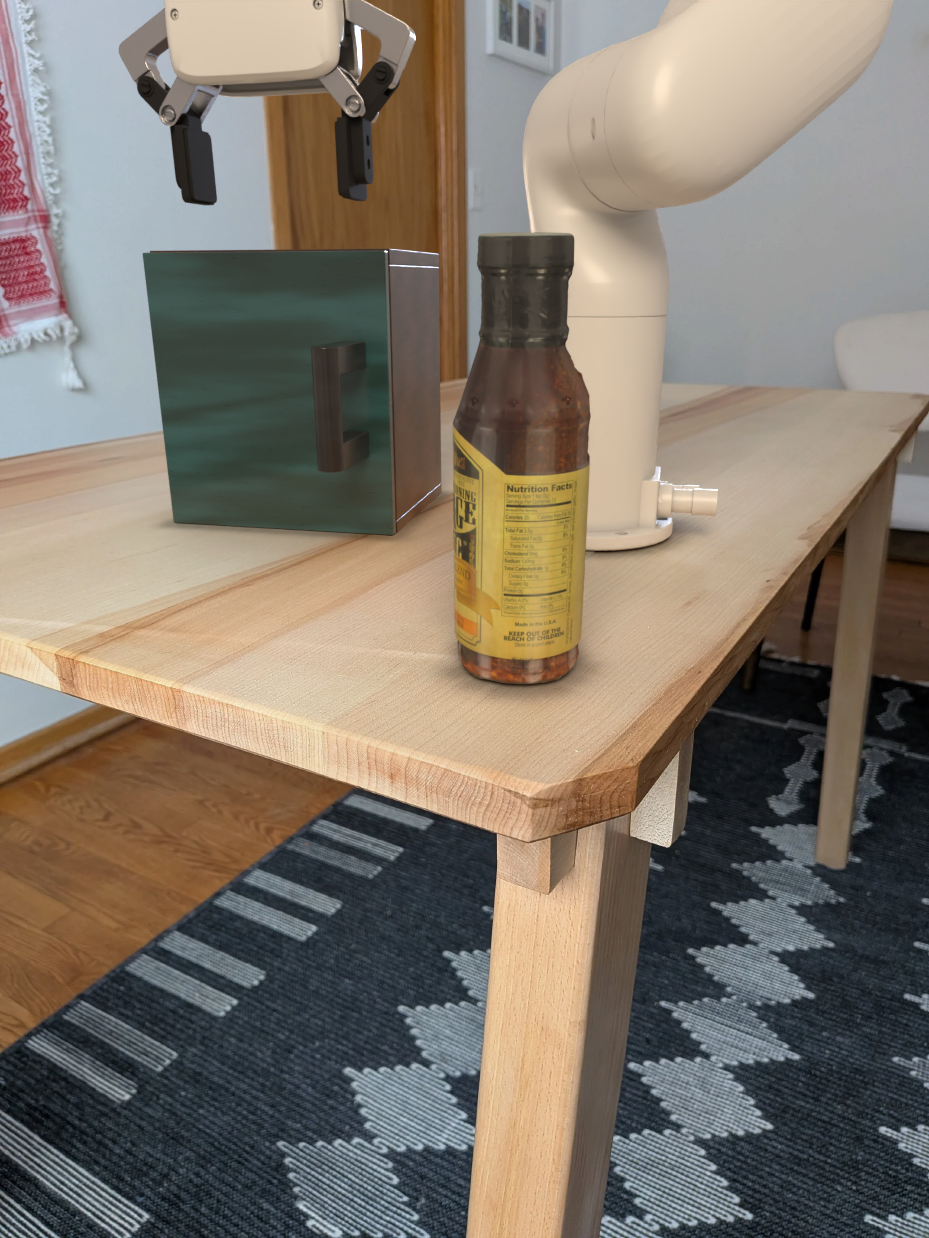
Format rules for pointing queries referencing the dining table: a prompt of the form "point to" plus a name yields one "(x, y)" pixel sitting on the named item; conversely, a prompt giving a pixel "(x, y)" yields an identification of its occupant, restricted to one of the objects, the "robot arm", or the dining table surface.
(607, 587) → the dining table surface
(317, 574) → the dining table surface
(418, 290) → the cupboard
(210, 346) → the cupboard door
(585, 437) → the sauce bottle
